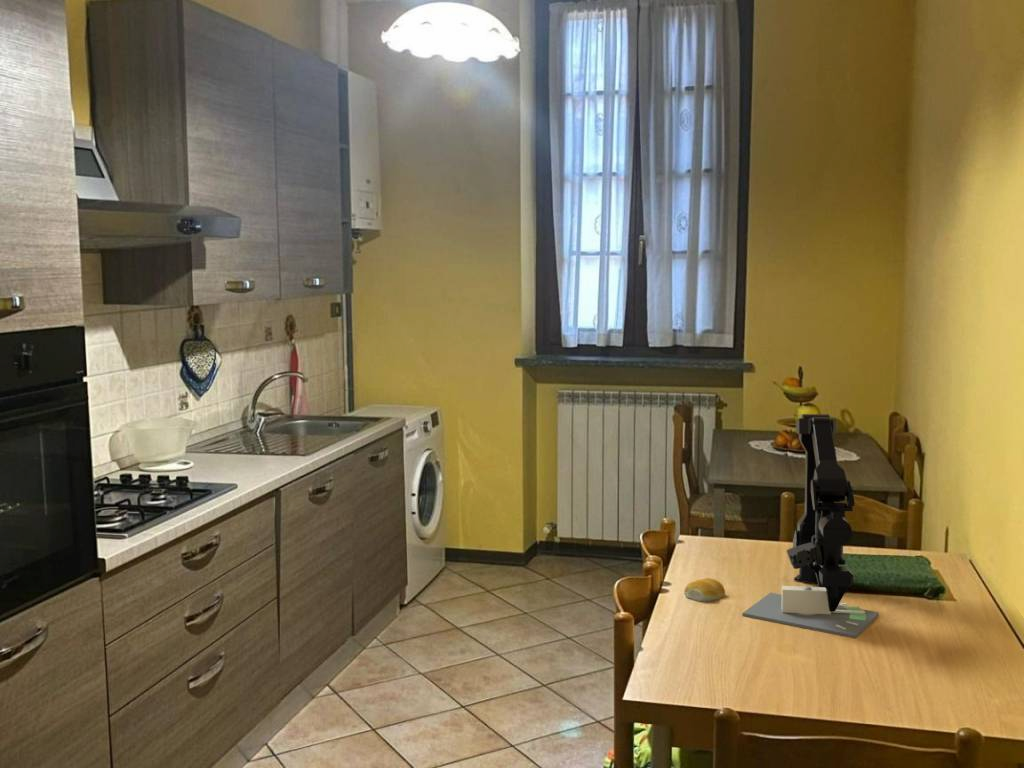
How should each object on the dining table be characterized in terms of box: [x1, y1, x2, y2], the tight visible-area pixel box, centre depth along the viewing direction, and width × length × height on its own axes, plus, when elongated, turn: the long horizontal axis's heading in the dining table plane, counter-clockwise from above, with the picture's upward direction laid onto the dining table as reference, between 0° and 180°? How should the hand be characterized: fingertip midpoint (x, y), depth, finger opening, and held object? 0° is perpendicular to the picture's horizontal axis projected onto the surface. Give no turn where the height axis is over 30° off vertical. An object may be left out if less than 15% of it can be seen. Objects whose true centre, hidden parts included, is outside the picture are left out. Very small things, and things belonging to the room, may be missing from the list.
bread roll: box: [683, 577, 726, 602], centre depth 230 cm, size 8×9×4 cm
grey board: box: [742, 592, 880, 639], centre depth 217 cm, size 18×24×1 cm
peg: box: [781, 585, 865, 614], centre depth 216 cm, size 3×17×5 cm, turn 80°
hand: (827, 604), depth 216 cm, fingers open, 8 cm apart
